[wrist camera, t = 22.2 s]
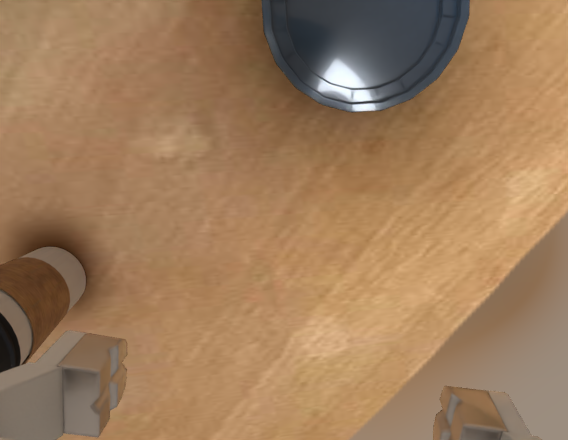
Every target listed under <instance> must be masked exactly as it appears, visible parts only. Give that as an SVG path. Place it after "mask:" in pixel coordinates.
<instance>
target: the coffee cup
mask: <svg viewBox="0 0 568 440" xmlns="http://www.w3.org/2000/svg"><path fill="white" fill-rule="evenodd" d="M85 287H86V276H85V271H84V269H83V267H82V265H81V264H80V262H79V261H78V260H77V258H76V257H75V256H73V255H72V254H71V253H69V252H68V251H66V250H64V249H61V248H58V247H43V248H40V249H37V250H35V251H32V252H30V253H28V254H26V255H24V256H22V257H20V258H17V259H14V260H12V261H9V262H7V263H5V264H2V265H0V373H1V372H4V371H7V370H9V369H12V368H15V367H18V366H20V365H23V364H26V362H27V361H28V360H29V359H30V358H31V356H32V355H33V354H34V353H35V351H36V350H37V349H38V348H39V347H40V345H41V344H42V343H43V342H44V341H45V339H46V338H47V337H48V336H49V335H50V333H51V332H52V331H53V330H54V328H55V327H56V326H57V325H58V324H59V322H60V321H61V320H62V319H63V317H64V316H65V315H66V313H67V312H68V311H69V310H70V309H71V308H72V307H73V306H74V304H75V303H76V302H77V301H78V300H79V299H80V297H81V296H82V294H83V293H84V290H85Z"/></svg>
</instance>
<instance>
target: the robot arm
mask: <svg viewBox="0 0 568 440" xmlns="http://www.w3.org/2000/svg"><path fill="white" fill-rule="evenodd" d="M126 356H127V342H126V340H125V339H121V338H115V337H109V336H103V335H97V334H91V333H85V332H78V331H66V332H65V333H64V334H63V335H62V336H61V337H60V338H59V339H58V340H57V341H56V342H55V343H54V344H53V345H52V346H51V347H50V348H49V349H48V350H47V351H46V352H45V353H44V354H43V355H42V356H41V357H40V358H39V359H38V360H37V361H36V363H30V362H29V363H26V364H23V365H20V366H18V367H15V368H12V369H9V370H7V371H4V372H1V373H0V440H56V439H58V438H59V437H61V436H62V435H63V433H66V434H74V435H83V436H91V437H99V436H100V434H101V432H102V431H103V429H104V427H105V426H106V424H107V422H108V421H109V419H110V410H112V409H114V408H115V407H117V406H118V404H119V402H120V400H121V398H122V395H123V392H124V389H125V385H126V379H127V369H126V368H125V366H124V365H123V363H122V362H123V360H124V359H125V357H126ZM440 402H441V405H442V408H443V409H442V410H441V411H440V412H439V413H438V414H436V417H435V422H434V428H433V440H542V439H540V438H539V437H537V436H532V435H531V434H530V432H529V430H528V428H527V427H526V425H525V423H524V421H523V420H522V418H521V416H520V415H519V413H518V411H517V409H516V407H515V406H514V404H513V402H512V400H511V399H510V397H509V395H508V394H506V393H505V392H495V391H486V390H476V389H468V388H459V387H451V386H444V388H443V390H442V393H441V397H440Z"/></svg>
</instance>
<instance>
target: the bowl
mask: <svg viewBox="0 0 568 440" xmlns="http://www.w3.org/2000/svg"><path fill="white" fill-rule="evenodd" d="M469 6H470V0H262V14H263V28H264V34H265V37H266V39H267V42H268V44H269V47H270V50H271V52H272V55H273V57H274V60H275V62H276V64H277V65H278V67H279V68H280V69H281V70H282V72H283V73H284V74H285V75H286V77H287V78H288V79H289V80H290V82H291V83H292V84H293V85H294V87H296V88H297V89H298V90H300V91H301V92H303V93H304V94H306V95H307V96H309V97H310V98H312V99H313V100H315V101H316V102H318V103H319V104H322V105H325V106H328V107H332V108H336V109H340V110H343V111H347V112H367V111H381V110H385V109H387V108H390V107H392V106H395V105H397V104H400V103H403V102H405V101H408V100H410V99H412V98H414V97H415V96H416V95H417V94H419V93H420V92H421V91H422V90H424V89H425V88H426V87H428V86H429V85H430V84H431V83H433V82H434V81H435V80H436V79H437V78H438V77H439V76H440V75H441V73H442V72H443V70H444V69H445V68H446V66H447V65H448V63H449V62H450V60H451V59H452V58H453V56H454V55H455V53H456V52H457V50H458V48H459V45H460V42H461V39H462V36H463V33H464V30H465V27H466V24H467V21H468V18H469V17H468V16H469Z"/></svg>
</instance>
